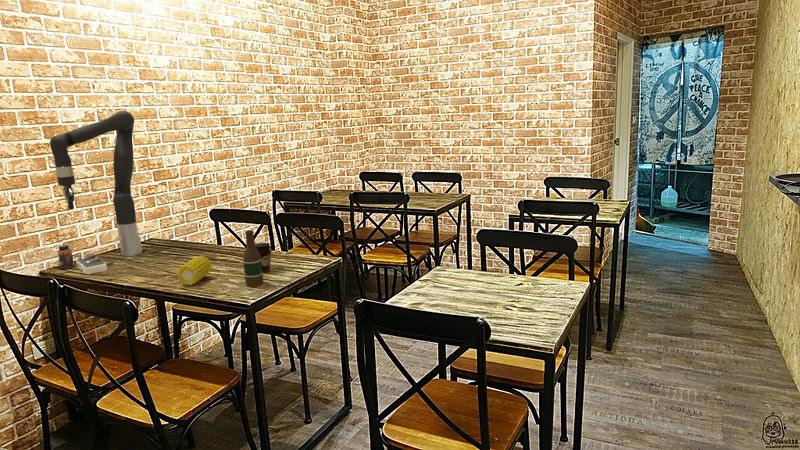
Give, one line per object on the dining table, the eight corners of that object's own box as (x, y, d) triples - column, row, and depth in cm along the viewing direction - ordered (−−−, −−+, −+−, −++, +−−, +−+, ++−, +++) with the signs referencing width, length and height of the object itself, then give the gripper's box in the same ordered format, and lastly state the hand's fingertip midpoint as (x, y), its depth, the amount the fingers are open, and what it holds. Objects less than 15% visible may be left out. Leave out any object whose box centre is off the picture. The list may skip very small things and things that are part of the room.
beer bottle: (247, 281, 236) (241, 229, 230) (265, 280, 236) (260, 228, 231) (243, 287, 228) (238, 233, 223) (262, 286, 229) (256, 232, 223)
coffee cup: (277, 269, 252) (274, 242, 249) (267, 274, 244) (264, 247, 241) (261, 267, 255) (258, 241, 252) (251, 273, 247) (248, 246, 244)
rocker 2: (98, 259, 261) (97, 256, 260) (101, 260, 258) (99, 258, 257) (85, 264, 257) (84, 261, 257) (88, 266, 254) (86, 263, 254)
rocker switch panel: (107, 260, 274) (106, 252, 273) (118, 267, 261) (116, 258, 260) (77, 266, 265) (75, 258, 264) (86, 274, 252) (84, 265, 251)
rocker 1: (93, 255, 267) (92, 253, 267) (96, 257, 264) (94, 254, 264) (80, 260, 264) (79, 258, 263) (83, 262, 261) (82, 259, 260)
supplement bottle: (77, 265, 267) (73, 243, 265) (69, 269, 262) (64, 247, 259) (66, 265, 268) (62, 243, 265) (57, 269, 262) (53, 247, 260)
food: (194, 288, 230) (191, 265, 227) (173, 285, 234) (170, 263, 232) (218, 276, 244) (215, 255, 241) (198, 274, 248) (195, 253, 245)
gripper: (77, 175, 265) (83, 209, 269) (70, 173, 274) (76, 206, 278) (59, 177, 260) (66, 212, 264) (53, 175, 269) (60, 208, 273)
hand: (71, 209), depth 271 cm, fingers closed
